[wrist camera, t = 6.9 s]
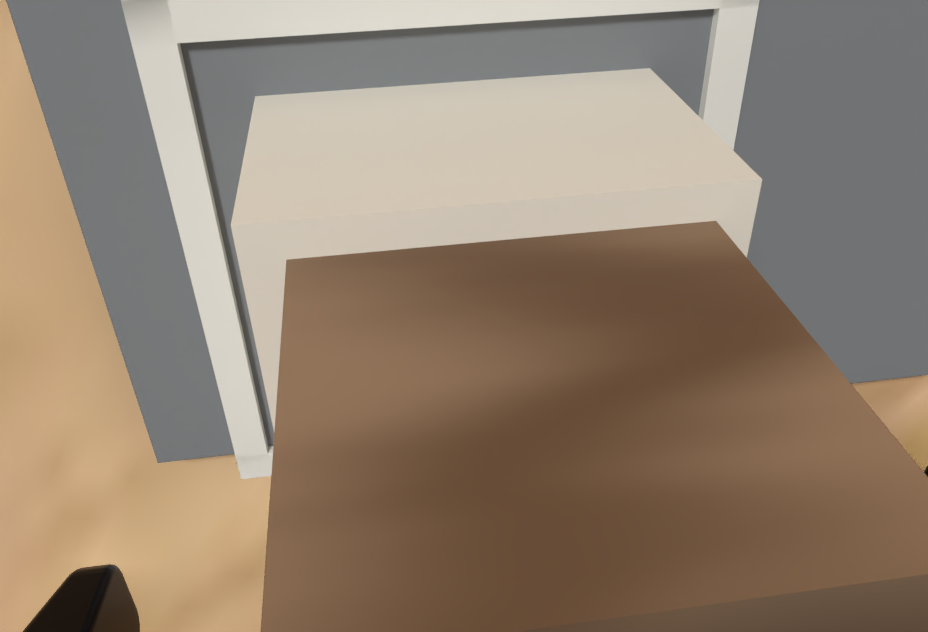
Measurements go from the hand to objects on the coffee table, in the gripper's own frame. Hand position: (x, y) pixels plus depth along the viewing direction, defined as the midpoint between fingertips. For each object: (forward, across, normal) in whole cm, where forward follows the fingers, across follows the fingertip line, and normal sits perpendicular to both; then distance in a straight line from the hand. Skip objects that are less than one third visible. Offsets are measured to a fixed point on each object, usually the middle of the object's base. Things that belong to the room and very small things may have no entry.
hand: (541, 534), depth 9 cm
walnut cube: (+2, 0, 0) cm, 2 cm away
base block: (+6, 0, 0) cm, 6 cm away
